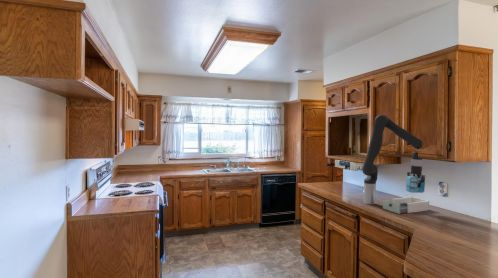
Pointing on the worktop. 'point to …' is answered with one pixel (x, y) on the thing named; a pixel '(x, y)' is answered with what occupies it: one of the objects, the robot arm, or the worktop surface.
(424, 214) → the worktop surface
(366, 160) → the robot arm
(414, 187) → the data package
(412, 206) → the cubby
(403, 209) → the drawer
